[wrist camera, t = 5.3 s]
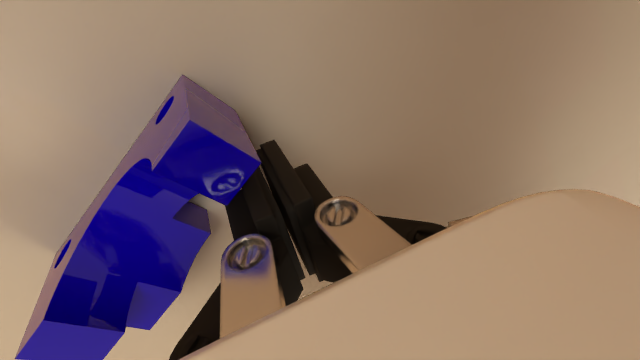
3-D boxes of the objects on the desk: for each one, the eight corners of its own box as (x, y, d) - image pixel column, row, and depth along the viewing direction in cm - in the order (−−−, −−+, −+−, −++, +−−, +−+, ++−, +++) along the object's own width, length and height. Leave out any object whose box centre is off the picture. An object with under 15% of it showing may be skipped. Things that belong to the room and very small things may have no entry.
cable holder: (152, 279, 14) (147, 369, 10) (55, 254, 12) (14, 358, 8) (268, 132, 12) (303, 187, 9) (182, 74, 10) (189, 119, 7)
